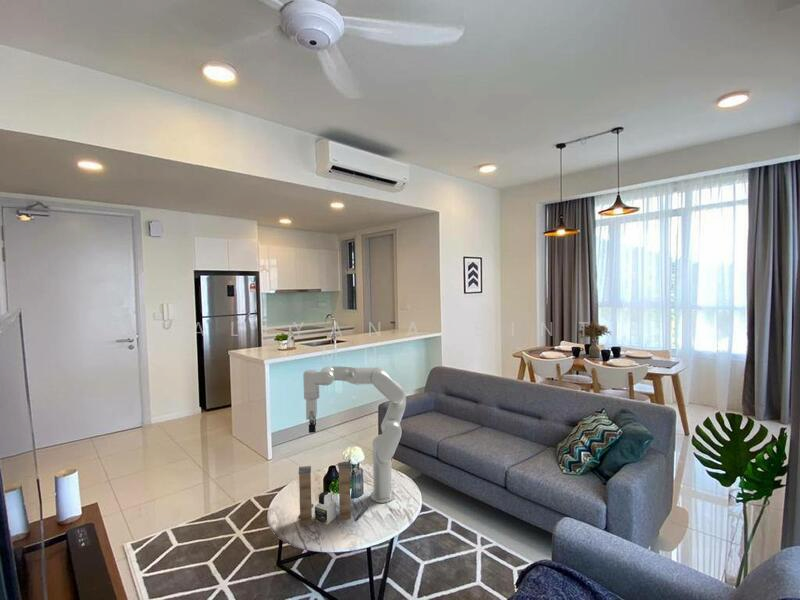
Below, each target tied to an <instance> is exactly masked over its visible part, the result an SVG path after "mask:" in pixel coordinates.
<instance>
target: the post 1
mask: <svg viewBox="0 0 800 600" xmlns="http://www.w3.org/2000/svg"><path fill="white" fill-rule="evenodd" d="M311 471H312V466H311V465H306V466H304V465H303V466H299V467H298V481H299V485H298V487H299V491H298V492H299V515H300V518H299V522H300V526H307V525H312V523H313V522H312V521H313V516H312V515H313V513H312V512H313V510H312V508H313V507H312V506H311V505H312V480H311V479H312V474H311V473H312V472H311Z"/></svg>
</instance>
